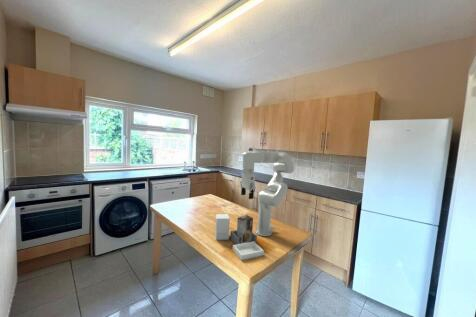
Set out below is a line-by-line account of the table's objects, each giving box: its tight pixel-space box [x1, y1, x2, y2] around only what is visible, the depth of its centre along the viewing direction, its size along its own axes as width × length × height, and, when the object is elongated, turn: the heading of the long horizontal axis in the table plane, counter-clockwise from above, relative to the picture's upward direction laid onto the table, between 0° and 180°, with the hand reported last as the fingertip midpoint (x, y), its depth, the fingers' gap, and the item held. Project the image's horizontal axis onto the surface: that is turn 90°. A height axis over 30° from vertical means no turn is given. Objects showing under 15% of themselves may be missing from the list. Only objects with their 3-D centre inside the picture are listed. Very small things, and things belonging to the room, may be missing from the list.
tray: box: [232, 241, 265, 261], centre depth 118 cm, size 15×12×3 cm
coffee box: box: [236, 214, 254, 244], centre depth 133 cm, size 9×6×16 cm
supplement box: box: [214, 213, 230, 241], centre depth 136 cm, size 9×9×15 cm
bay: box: [229, 229, 258, 245], centre depth 133 cm, size 14×12×5 cm
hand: (247, 196), depth 128 cm, fingers open, 9 cm apart
